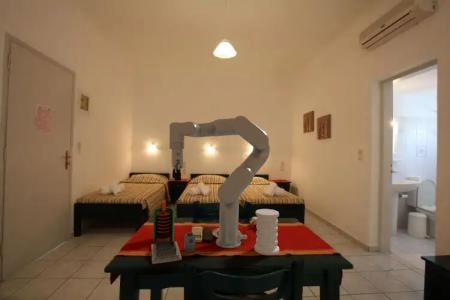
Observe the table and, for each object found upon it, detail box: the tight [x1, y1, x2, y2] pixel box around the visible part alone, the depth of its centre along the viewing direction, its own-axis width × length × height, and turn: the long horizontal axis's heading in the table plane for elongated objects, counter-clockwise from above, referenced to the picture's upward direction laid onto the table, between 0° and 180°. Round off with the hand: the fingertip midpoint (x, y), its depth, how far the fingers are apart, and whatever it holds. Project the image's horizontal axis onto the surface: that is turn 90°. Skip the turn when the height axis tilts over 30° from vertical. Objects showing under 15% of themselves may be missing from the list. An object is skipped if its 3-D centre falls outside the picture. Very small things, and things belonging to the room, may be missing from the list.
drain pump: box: [183, 231, 196, 253], centre depth 109 cm, size 5×6×8 cm
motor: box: [152, 199, 175, 243], centre depth 121 cm, size 10×9×20 cm
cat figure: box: [249, 216, 258, 229], centre depth 139 cm, size 10×9×25 cm
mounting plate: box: [150, 240, 183, 265], centre depth 106 cm, size 12×18×4 cm, turn 18°
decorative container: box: [253, 208, 280, 256], centre depth 111 cm, size 12×12×18 cm
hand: (176, 179), depth 121 cm, fingers open, 9 cm apart
